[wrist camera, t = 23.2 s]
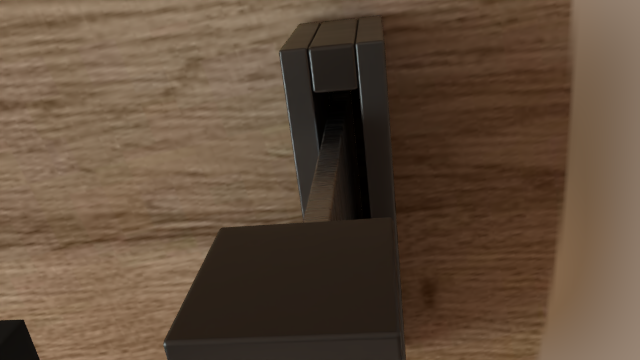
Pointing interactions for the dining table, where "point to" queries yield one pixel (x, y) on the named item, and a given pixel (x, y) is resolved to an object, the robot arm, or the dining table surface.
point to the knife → (300, 276)
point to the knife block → (313, 104)
